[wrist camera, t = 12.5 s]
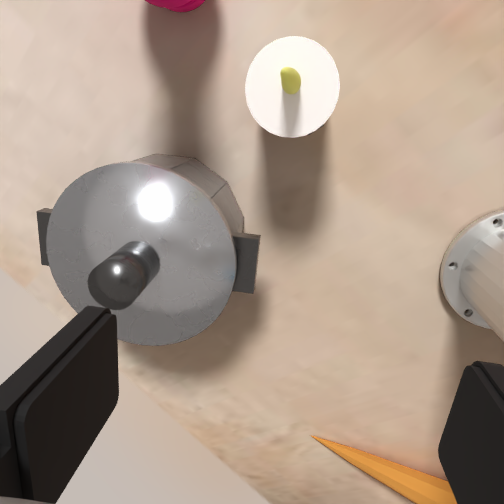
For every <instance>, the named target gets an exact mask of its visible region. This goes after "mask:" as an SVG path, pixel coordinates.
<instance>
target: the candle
mask: <svg viewBox="0 0 504 504" xmlns="http://www.w3.org/2000/svg"><path fill="white" fill-rule="evenodd" d="M339 88H340V82H339V73H338V70H337V67H336V65H335V62H334V60H333V58H332V57H331V56H330V54H329V53H328V52H327V50H326V49H325V48H324V47H322V46H321V45H320V44H318V43H317V42H316V41H313V40H311V39H308V38H305V37H299V36H288V37H284V38H280V39H277V40H275V41H273V42H272V43H270V44H268V45H266V46H265V47H264V48H263V49H262V50H261V51H260V52H259V53H258V54H257V55H256V57H255V59H254V60H253V62H252V64H251V65H250V67H249V71H248V74H247V77H246V86H245V94H246V100H247V105H248V107H249V109H250V112H251V114H252V116H253V117H254V119H255V120H256V121H257V122H258V124H259V125H260V126H261V127H263V128H264V129H265V130H267V131H268V132H270V133H272V134H275V135H277V136H280V137H289V138H295V137H300V136H305V135H307V134H308V135H309V134H311V133H313V132H314V131H316V130H317V129H319V128H321V127H322V126H324V123H325V122H326V121H327V119H328V118H329V116H330V115H331V114H332V112H333V110H334V108H335V105H336V103H337V100H338V96H339Z"/></svg>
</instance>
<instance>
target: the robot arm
mask: <svg viewBox="0 0 504 504" xmlns="http://www.w3.org/2000/svg"><path fill="white" fill-rule="evenodd" d="M495 219H496V221H495V222H494V223H493V221H494V220H495ZM452 262H453V263H452ZM450 263H452V264H451V265H449V264H450ZM440 281H441V288H442V291H443V294H444V296H445V298H446V300H447V301H448V303H449V304H450V306H451V307H452V308H453V309H454V311H455V312H456V313H457V314H458V315H459V316H461V317H462V318H463V319H464V320H466V321H468V322H470V323H472V324H474V325H477V326H480V327H483V328H487V329H492V330H493V331H494V332H495V333H496V334H497V335H498V337H499V338H500V339H501V340H502V341H503V342H504V210H500V211H496V212H493V213H490V214H488V215H485V216H483V217H481V218H479V219H477V220H476V221H474V222H473V223H471V224H469V225H468V226H467V227H466V228H465V229H463V230H462V231H461V232H460V233H459V234H458V235H457V236H456V238H455V239H454V240H453V241H452V242H451V244H450V246H449V247H448V249H447V251H446V253H445V255H444V258H443V261H442V264H441V271H440ZM118 396H119V383H118V344H117V317H116V315H115V314H111V311H110V309H109V308H103V307H96V306H86V307H85V308H84V309H83V310H82V311H81V312H80V313H78V314H77V315H76V316H75V317H74V318H73V319H72V320H71V321H70V322H69V323H68V324H67V325H65V326H64V327H63V328H62V329H61V330H60V331H59V332H58V333H57V334H56V335H55V336H53V337H52V338H51V339H50V340H49V341H48V342H47V343H46V344H45V345H44V346H43V347H42V348H41V349H40V350H38V351H37V352H36V353H35V354H34V355H33V356H32V357H31V358H30V359H29V360H27V361H26V362H25V363H24V364H23V365H22V366H21V367H20V368H19V369H18V370H17V371H15V372H14V374H12V375H11V376H10V377H9V378H8V379H7V380H6V381H5V382H4V383H3V384H1V385H0V504H55V503H56V502H57V500H58V499H59V497H60V495H61V494H62V492H63V491H64V489H65V488H66V486H67V484H68V482H69V481H70V479H71V478H72V476H73V475H74V473H75V471H76V470H77V468H78V467H79V465H80V463H81V462H82V460H83V458H84V457H85V455H86V454H87V452H88V450H89V449H90V447H91V446H92V444H93V442H94V441H95V439H96V437H97V436H98V434H99V432H100V431H101V429H102V428H103V426H104V425H105V423H106V421H107V419H108V418H109V416H110V415H111V413H112V412H113V410H114V408H115V406H116V404H117V401H118ZM438 454H439V459H440V462H441V465H442V467H443V470H444V472H445V475H446V477H447V479H448V482H449V484H450V487H451V489H452V492H453V494H454V497H455V499H456V502H457V504H504V367H503V366H502V365H500V364H494V363H487V362H480V361H476V362H474V363H473V364H472V366H467V367H466V368H465V370H464V372H463V375H462V378H461V381H460V384H459V387H458V390H457V393H456V396H455V399H454V402H453V405H452V408H451V410H450V413H449V416H448V419H447V422H446V425H445V428H444V431H443V434H442V437H441V440H440V443H439V448H438Z"/></svg>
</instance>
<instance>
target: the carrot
mask: <svg viewBox="0 0 504 504" xmlns="http://www.w3.org/2000/svg"><path fill="white" fill-rule="evenodd" d="M310 436H311V435H310ZM312 437H313V438H315V439H316V440H318V441H319V442H320V443H322V444H323V445H325V446H326V447H328V448H329V449H331V450H332V451H333V452H335V453H336V454H338V455H339V456H341V457H342V458H344V459H345V460H346V461H348V462H349V463H351V464H353V465H354V466H356V467H357V468H359V469H361V470H362V471H364V472H365V473H367V474H369V475H370V476H372V477H373V478H375V479H377V480H378V481H380V482H381V483H383V484H385V485H386V486H388V487H390V488H391V489H393V490H394V491H396V492H398V493H399V494H401V495H402V496H404V497H406V498H407V499H409V500H410V501H412V502H414V503H415V504H457V502H456V499H455V497H454V494H453V492H452V489H451V487H450V484H449V482H448V481H445V480H442V479H440V478H437V477H434V476H431V475H428V474H425V473H423V472H420V471H417V470H414V469H411V468H408V467H406V466H403V465H400V464H397V463H394V462H392V461H389V460H386V459H383V458H380V457H377V456H375V455H372V454H369V453H366V452H363V451H360V450H358V449H355V448H351V447H348V446H345V445H341V444H338V443H335V442H331V441H328V440H324V439H321V438H318V437H314V436H312Z"/></svg>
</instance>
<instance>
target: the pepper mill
mask: <svg viewBox="0 0 504 504" xmlns="http://www.w3.org/2000/svg"><path fill="white" fill-rule="evenodd" d="M145 1H147V2H148V3H150V4H153V5H156V6H158V7H164V8H167V9H169V10H172V11H175V12H187V11H191V10H193V9H196V8H197V7H199V6H200V5H201V4H202V3H203V2H204V1H205V0H145Z"/></svg>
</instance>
